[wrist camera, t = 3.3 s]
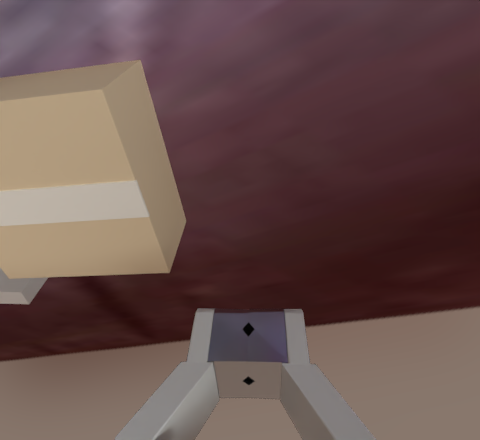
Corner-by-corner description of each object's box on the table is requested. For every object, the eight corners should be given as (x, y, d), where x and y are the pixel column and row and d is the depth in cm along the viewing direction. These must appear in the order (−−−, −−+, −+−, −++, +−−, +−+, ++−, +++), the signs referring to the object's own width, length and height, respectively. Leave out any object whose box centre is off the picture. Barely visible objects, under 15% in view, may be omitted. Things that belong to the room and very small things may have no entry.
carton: (143, 58, 15) (102, 90, 11) (188, 218, 20) (170, 274, 17) (-36, 81, 16) (-125, 116, 12) (51, 226, 22) (7, 280, 18)
